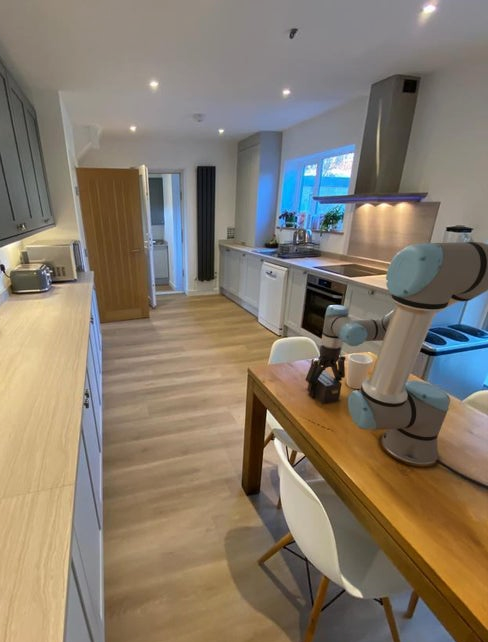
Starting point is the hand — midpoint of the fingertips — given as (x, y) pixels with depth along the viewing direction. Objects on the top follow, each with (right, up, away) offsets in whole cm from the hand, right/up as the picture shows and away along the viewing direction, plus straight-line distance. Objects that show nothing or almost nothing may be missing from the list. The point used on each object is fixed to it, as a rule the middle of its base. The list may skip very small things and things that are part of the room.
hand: (322, 394), depth 134 cm
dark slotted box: (0, -1, -1) cm, 1 cm away
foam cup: (+17, +3, +7) cm, 18 cm away
